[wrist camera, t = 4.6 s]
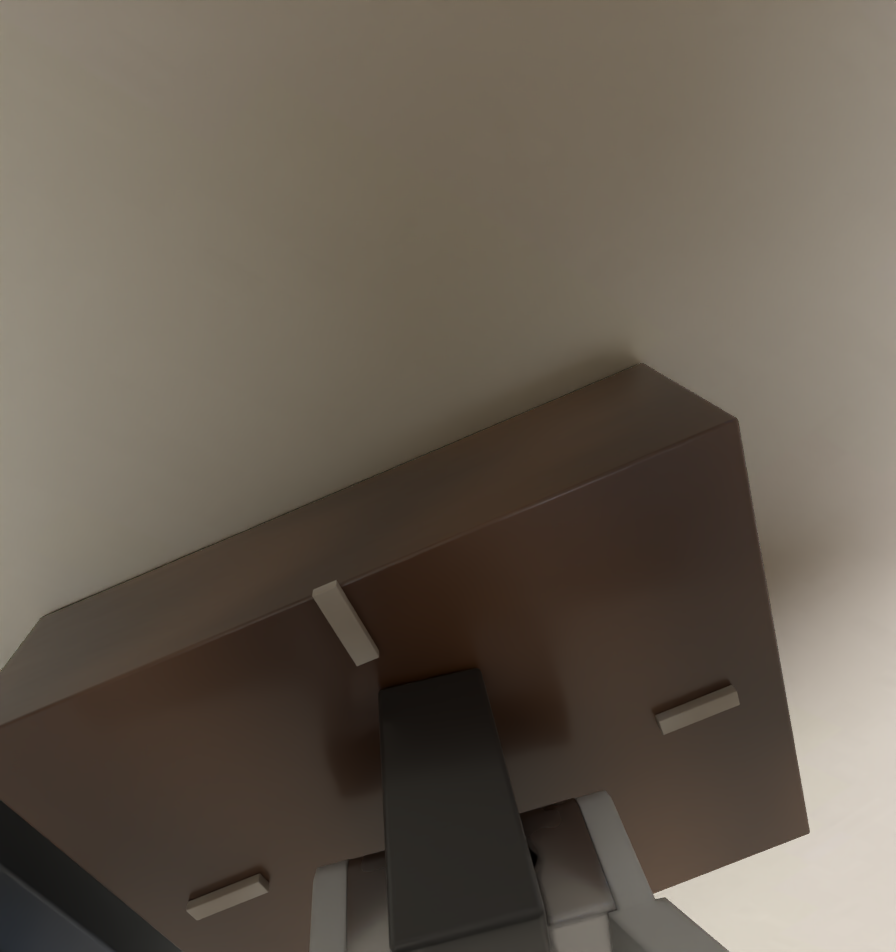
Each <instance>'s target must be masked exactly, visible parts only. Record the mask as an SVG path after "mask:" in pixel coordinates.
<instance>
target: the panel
mask: <svg viewBox="0 0 896 952" xmlns="http://www.w3.org/2000/svg"><path fill="white" fill-rule="evenodd" d="M472 668H479V669H480V671H481V672H482V675H483V679H484V682H485V686H486V690H487V694H488V697H489V701H490V705H491V709H492V712H493V716H494V720H495V724H496V727H497V731H498V735H499V739H500V742H501V746H502V750H503V754H504V757H505V761H506V765H507V769H508V773H509V776H510V780H511V784H512V788H513V791H514V795H515V799H516V803H517V806H518V810H519V813H523V812H526V811H530V810H533V809H537V808H540V807H543V806H547V805H550V804H554V803H557V802H561V801H564V800H567V799H571V798H574V799H575V798H577V797H581V796H584V795H588V794H591V793H595V792H599V791H602V790H605V791H606V792H607V793H608V794H609V796H610V797H611V798H612V801H613V803H614V805H615V808H616V810H617V812H618V815H619V817H620V819H621V821H622V824H623V826H624V828H625V831H626V833H627V835H628V838H629V840H630V842H631V845H632V847H633V849H634V851H635V854H636V856H637V858H638V861H639V863H640V865H641V868H642V870H643V872H644V875H645V877H646V879H647V881H648V884H649V886H650V888H651V891H652V893H653V894H654V893H657V892H659V891H662V890H664V889H667V888H669V887H672V886H675V885H677V884H680V883H682V882H685V881H688V880H690V879H693V878H695V877H698V876H700V875H703V874H706V873H708V872H711V871H713V870H716V869H719V868H721V867H724V866H726V865H729V864H731V863H734V862H737V861H739V860H742V859H744V858H747V857H750V856H752V855H755V854H757V853H760V852H762V851H765V850H768V849H770V848H773V847H775V846H778V845H781V844H783V843H786V842H788V841H791V840H794V839H796V838H799V837H801V836H804V835H806V834H809V833H810V830H809V824H808V819H807V813H806V807H805V801H804V796H803V790H802V784H801V778H800V773H799V767H798V761H797V755H796V750H795V744H794V738H793V732H792V727H791V721H790V715H789V710H788V704H787V698H786V692H785V687H784V681H783V675H782V669H781V664H780V658H779V652H778V646H777V641H776V635H775V629H774V623H773V618H772V612H771V606H770V600H769V595H768V589H767V583H766V578H765V572H764V566H763V560H762V555H761V549H760V543H759V537H758V532H757V526H756V520H755V514H754V509H753V503H752V497H751V491H750V486H749V480H748V474H747V468H746V463H745V457H744V451H743V446H742V440H741V434H740V428H739V423H738V419H737V418H736V417H734V416H732V415H731V414H729V413H727V412H725V411H724V410H722V409H720V408H719V407H717V406H715V405H714V404H712V403H710V402H708V401H707V400H705V399H703V398H702V397H700V396H698V395H696V394H695V393H693V392H691V391H690V390H688V389H686V388H685V387H683V386H681V385H679V384H678V383H676V382H674V381H673V380H671V379H669V378H667V377H666V376H664V375H662V374H661V373H659V372H657V371H655V370H654V369H652V368H650V367H649V366H647V365H645V364H644V363H640V364H638V365H635V366H633V367H630V368H628V369H626V370H623V371H621V372H619V373H616V374H614V375H612V376H609V377H607V378H605V379H602V380H600V381H598V382H595V383H593V384H590V385H588V386H586V387H583V388H581V389H579V390H576V391H574V392H572V393H569V394H567V395H565V396H562V397H560V398H557V399H555V400H553V401H550V402H548V403H546V404H543V405H541V406H539V407H536V408H534V409H532V410H529V411H527V412H524V413H522V414H520V415H517V416H515V417H513V418H510V419H508V420H506V421H503V422H501V423H499V424H496V425H494V426H492V427H489V428H487V429H484V430H482V431H480V432H477V433H475V434H473V435H470V436H468V437H466V438H463V439H461V440H459V441H456V442H454V443H451V444H449V445H447V446H444V447H442V448H440V449H437V450H435V451H433V452H430V453H428V454H426V455H423V456H421V457H418V458H416V459H414V460H411V461H409V462H407V463H404V464H402V465H400V466H397V467H395V468H393V469H390V470H388V471H386V472H383V473H381V474H378V475H376V476H374V477H371V478H369V479H367V480H364V481H362V482H360V483H357V484H355V485H353V486H350V487H348V488H345V489H343V490H341V491H338V492H336V493H334V494H331V495H329V496H327V497H324V498H322V499H320V500H317V501H315V502H312V503H310V504H308V505H305V506H303V507H301V508H298V509H296V510H294V511H291V512H289V513H287V514H284V515H282V516H280V517H277V518H275V519H272V520H270V521H268V522H265V523H263V524H261V525H258V526H256V527H254V528H251V529H249V530H247V531H244V532H242V533H239V534H237V535H235V536H232V537H230V538H228V539H225V540H223V541H221V542H218V543H216V544H214V545H211V546H209V547H207V548H204V549H202V550H199V551H197V552H195V553H192V554H190V555H188V556H185V557H183V558H181V559H178V560H176V561H174V562H171V563H169V564H166V565H164V566H162V567H159V568H157V569H155V570H152V571H150V572H148V573H145V574H143V575H141V576H138V577H136V578H133V579H131V580H129V581H126V582H124V583H122V584H119V585H117V586H115V587H112V588H110V589H108V590H105V591H103V592H101V593H98V594H96V595H93V596H91V597H89V598H86V599H84V600H82V601H79V602H77V603H75V604H72V605H70V606H68V607H65V608H63V609H60V610H58V611H56V612H53V613H51V614H49V615H46V616H44V617H42V618H40V619H39V621H38V622H37V623H36V625H35V626H34V627H33V629H32V630H31V631H30V633H29V634H28V636H27V637H26V638H25V640H24V641H23V642H22V644H21V645H20V646H19V648H18V649H17V650H16V652H15V653H14V654H13V656H12V657H11V658H10V660H9V661H8V663H7V664H6V665H5V667H4V668H3V669H2V671H1V672H0V800H1V801H2V802H3V803H4V804H6V805H7V806H8V807H9V808H10V809H12V810H13V811H14V812H15V813H16V814H18V815H19V816H20V817H21V818H22V819H24V820H25V821H26V822H27V823H28V824H30V825H31V826H32V827H33V828H35V829H36V830H37V831H38V832H39V833H41V834H42V835H43V836H44V837H45V838H47V839H48V840H49V841H50V842H51V843H53V844H54V845H55V846H56V847H57V848H59V849H60V850H61V851H62V852H63V853H65V854H66V855H67V856H68V857H69V858H71V859H72V860H73V861H74V862H75V863H77V864H78V865H79V866H80V867H81V868H83V869H84V870H85V871H86V872H87V873H89V874H90V875H91V876H92V877H93V878H95V879H96V880H97V881H98V882H99V883H101V884H102V885H103V886H104V887H105V888H107V889H108V890H109V891H110V892H111V893H113V894H114V895H115V896H116V897H118V898H119V899H120V900H121V901H122V902H124V903H125V904H126V905H127V906H128V907H130V908H131V909H132V910H133V911H134V912H136V913H137V914H138V915H139V916H140V917H142V918H143V919H144V920H145V921H146V922H148V923H149V924H150V925H151V926H152V927H154V928H155V929H156V930H157V931H158V932H160V933H161V934H162V935H163V936H164V937H166V938H167V939H168V940H169V941H170V942H172V943H173V944H174V945H175V946H176V947H178V948H179V949H180V950H181V951H182V952H309V948H310V930H311V911H312V893H313V881H314V877H315V873H316V869H317V868H319V867H322V866H326V865H329V864H333V863H337V862H340V861H344V860H347V859H354V858H358V857H361V856H365V855H369V854H373V853H376V852H380V851H384V850H385V842H384V821H383V799H382V778H381V756H380V735H379V713H378V693H379V691H380V690H382V689H385V688H389V687H394V686H398V685H402V684H407V683H411V682H416V681H420V680H424V679H429V678H433V677H437V676H442V675H446V674H450V673H455V672H459V671H464V670H468V669H472Z"/></svg>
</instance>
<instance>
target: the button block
mask: <svg viewBox="0 0 896 952" xmlns="http://www.w3.org/2000/svg"><path fill="white" fill-rule="evenodd" d="M0 952H182V951H181V950H180V949H179V948H178V947H176V946H175V945H174V944H173V943H172V942H170V941H169V940H168V939H167V938H166V937H164V936H163V935H162V934H161V933H160V932H158V931H157V930H156V929H155V928H154V927H152V926H151V925H150V924H149V923H148V922H146V921H145V920H144V919H143V918H142V917H140V916H139V915H138V914H137V913H136V912H134V911H133V910H132V909H131V908H130V907H128V906H127V905H126V904H125V903H124V902H122V901H121V900H120V899H119V898H118V897H116V896H115V895H114V894H113V893H111V892H110V891H109V890H108V889H107V888H105V887H104V886H103V885H102V884H101V883H99V882H98V881H97V880H96V879H95V878H93V877H92V876H91V875H90V874H89V873H87V872H86V871H85V870H84V869H83V868H81V867H80V866H79V865H78V864H77V863H75V862H74V861H73V860H72V859H71V858H69V857H68V856H67V855H66V854H65V853H63V852H62V851H61V850H60V849H59V848H57V847H56V846H55V845H54V844H53V843H51V842H50V841H49V840H48V839H47V838H45V837H44V836H43V835H42V834H41V833H39V832H38V831H37V830H36V829H35V828H33V827H32V826H31V825H30V824H28V823H27V822H26V821H25V820H24V819H22V818H21V817H20V816H19V815H18V814H16V813H15V812H14V811H13V810H12V809H10V808H9V807H8V806H7V805H6V804H4V803H3V802H2V801H1V800H0Z"/></svg>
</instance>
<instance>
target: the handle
mask: <svg viewBox="0 0 896 952" xmlns="http://www.w3.org/2000/svg"><path fill="white" fill-rule="evenodd" d="M378 713H379V735H380V756H381V778H382V799H383V821H384V842H385V864H386V886H387V907H388V929H389V948H390V950H391V952H551V946H550V939H549V933H548V927H547V920H546V914H545V908H544V904H543V900H542V896H541V893H540V889H539V885H538V881H537V878H536V874H535V870H534V866H533V863H532V859H531V855H530V851H529V848H528V844H527V840H526V836H525V833H524V829H523V825H522V821H521V818H520V814H519V810H518V806H517V803H516V799H515V795H514V791H513V788H512V784H511V780H510V776H509V773H508V769H507V765H506V761H505V757H504V754H503V750H502V746H501V742H500V739H499V735H498V731H497V727H496V724H495V720H494V716H493V712H492V709H491V705H490V701H489V697H488V694H487V690H486V686H485V682H484V679H483V675H482V672H481V671H480V669H479V668H472V669H468V670H464V671H459V672H455V673H450V674H446V675H442V676H437V677H433V678H429V679H424V680H420V681H416V682H411V683H407V684H402V685H398V686H394V687H389V688H385V689H382V690H380V691H379V693H378Z"/></svg>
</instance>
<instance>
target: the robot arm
mask: <svg viewBox="0 0 896 952" xmlns="http://www.w3.org/2000/svg"><path fill="white" fill-rule="evenodd" d="M519 814H520V818H521V821H522V825H523V829H524V833H525V836H526V840H527V844H528V848H529V851H530V855H531V859H532V863H533V866H534V870H535V874H536V878H537V881H538V885H539V889H540V893H541V896H542V900H543V904H544V908H545V914H546V920H547V927H548V933H549V939H550V946H551V952H729V951H728V950H727V949H726V948H724V947H723V946H722V945H721V944H720V943H719V942H717V941H716V940H715V939H714V938H713V937H711V936H710V935H709V934H708V933H707V932H706V931H704V930H703V929H702V928H701V927H700V926H698V925H697V924H696V923H695V922H694V921H692V920H691V919H690V918H689V917H688V916H687V915H685V914H684V913H683V912H682V911H681V910H679V909H678V908H677V907H676V906H675V905H673V904H672V903H671V902H670V901H669V900H668V899H666V898H665V897H664V898H660V899H655V898H654V895H653V893H652V891H651V888H650V886H649V884H648V881H647V879H646V877H645V875H644V872H643V870H642V868H641V865H640V863H639V861H638V858H637V856H636V854H635V851H634V849H633V847H632V845H631V842H630V840H629V838H628V835H627V833H626V831H625V828H624V826H623V824H622V821H621V819H620V817H619V815H618V812H617V810H616V808H615V805H614V803H613V801H612V798H611V797H610V796H609V794H608V793H607V792H606V791H605V790H602V791H599V792H595V793H591V794H588V795H584V796H581V797H577V798H575V799H574V798H571V799H567V800H564V801H561V802H557V803H554V804H550V805H547V806H543V807H540V808H537V809H533V810H530V811H526V812H523V813H519ZM309 952H391V950H390V948H389V929H388V907H387V886H386V864H385V850H384V851H380V852H376V853H373V854H369V855H365V856H361V857H358V858H354V859H347V860H344V861H340V862H337V863H333V864H329V865H326V866H322V867H319V868H317V869H316V873H315V877H314V881H313V893H312V911H311V930H310V948H309Z"/></svg>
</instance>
